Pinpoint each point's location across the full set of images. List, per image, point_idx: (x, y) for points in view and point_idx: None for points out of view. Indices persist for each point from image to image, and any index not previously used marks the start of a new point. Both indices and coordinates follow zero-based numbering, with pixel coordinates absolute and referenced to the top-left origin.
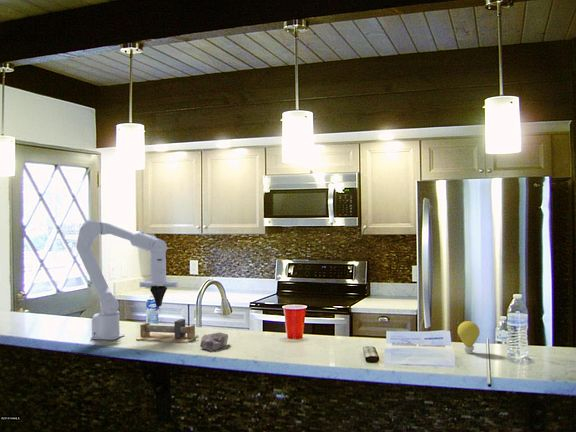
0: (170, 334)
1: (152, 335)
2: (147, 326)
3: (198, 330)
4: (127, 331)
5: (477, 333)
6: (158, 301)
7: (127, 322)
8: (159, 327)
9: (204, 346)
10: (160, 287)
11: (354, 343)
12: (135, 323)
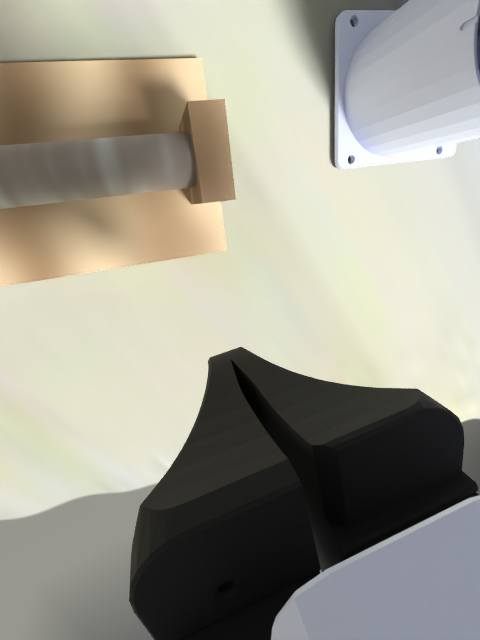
0: (71, 261)
1: (162, 192)
2: (175, 138)
3: (41, 444)
4: (373, 277)
5: None
6: (223, 372)
7: None
8: (57, 145)
9: None
10: (270, 605)
11: None
12: None
